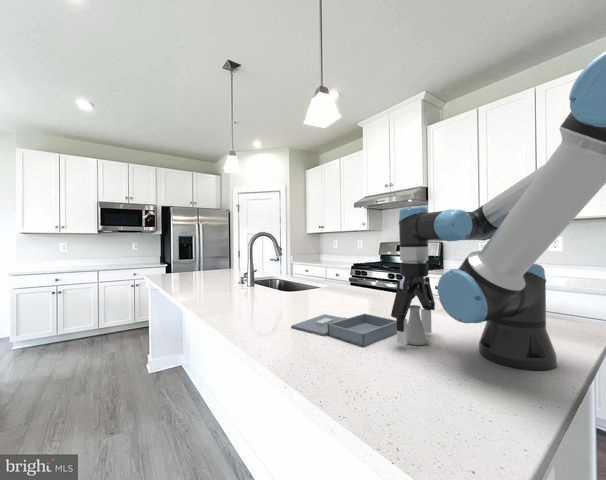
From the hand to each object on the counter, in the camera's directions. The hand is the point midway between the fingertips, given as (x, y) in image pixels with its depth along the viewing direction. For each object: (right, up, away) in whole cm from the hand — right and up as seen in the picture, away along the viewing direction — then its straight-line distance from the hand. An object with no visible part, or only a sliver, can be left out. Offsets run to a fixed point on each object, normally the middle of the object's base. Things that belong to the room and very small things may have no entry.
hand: (415, 337), depth 83 cm
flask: (0, -2, 0) cm, 2 cm away
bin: (-13, -1, +7) cm, 15 cm away
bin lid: (-24, -2, +17) cm, 30 cm away
